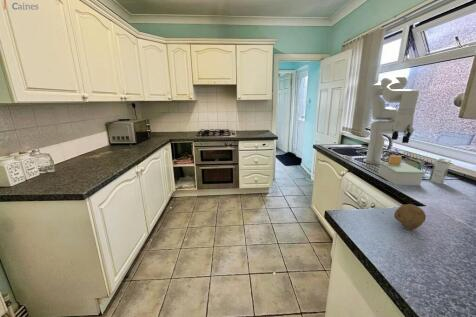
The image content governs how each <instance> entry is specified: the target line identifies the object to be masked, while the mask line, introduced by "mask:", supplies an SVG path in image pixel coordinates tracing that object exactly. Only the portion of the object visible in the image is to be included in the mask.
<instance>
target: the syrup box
mask: <svg viewBox="0 0 476 317" xmlns="http://www.w3.org/2000/svg"><path fill="white" fill-rule="evenodd" d="M451 161H452V160H451V159H446V158H441V157H438V158H436V159H434V162H433V166H432V168H431V172H430V175H429V178H428V182H430V183H431V182H432V183H436V184H440V185H442V184H444V182H445V180H446V177H447V175H448V174H447V173H448V171H449V168H450V164H451Z"/></svg>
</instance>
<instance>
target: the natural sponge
mask: <svg viewBox="0 0 476 317" xmlns="http://www.w3.org/2000/svg"><path fill="white" fill-rule="evenodd" d="M394 218H395V220H396V221H398V222H399V223H400V224H401V225H402V226H403V227H404V228H405V227H406V228H405V229H407V228H408V229H407V230H410V229H411V230H415V229H418V228H420V227H421V226H422V225H423V224H424V222H425V221H426V218H427V217H426V213H425V211H424V210H423V209H422V208H421V207H419V206H417V205H415V204H412V203H408V204H407V203H405V204H402V205H400V206H399V207H398V208H397V209H396V210H395V211H394Z"/></svg>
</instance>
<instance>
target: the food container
mask: <svg viewBox="0 0 476 317" xmlns="http://www.w3.org/2000/svg"><path fill="white" fill-rule="evenodd" d="M425 162H426V161H425V160H424V159H422V158H418V157H412V156H406V158H405V163H406V164H408V165H410V166H412V167H415V168H417V169H419V170H421V171H422V169H423V167H424V165H426V164H425Z"/></svg>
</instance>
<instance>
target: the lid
mask: <svg viewBox="0 0 476 317" xmlns="http://www.w3.org/2000/svg"><path fill="white" fill-rule="evenodd" d="M402 158H403V157H402V155H389V157H388V162H387V161H386V162H384V161H382V162H380V163H379V164H378V165H382V166H384V167H386V168H388V169H390V170H391V171H393V172H395V173H402V174H423V175H426V172H425V171H424V170H422V169H421V170H419V169H417V168H415V167H412V166H410V165H408V164H406V162H402Z"/></svg>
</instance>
